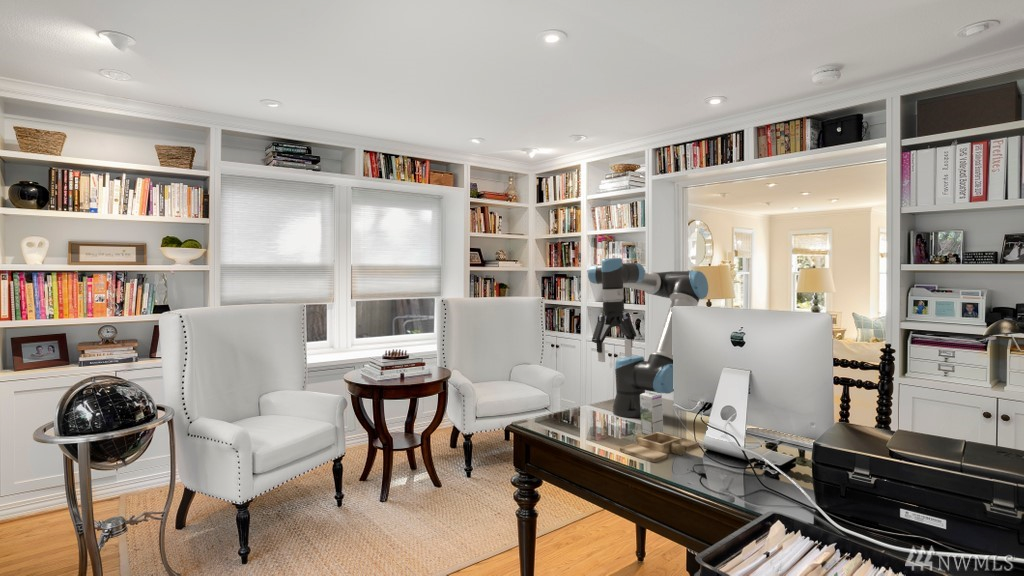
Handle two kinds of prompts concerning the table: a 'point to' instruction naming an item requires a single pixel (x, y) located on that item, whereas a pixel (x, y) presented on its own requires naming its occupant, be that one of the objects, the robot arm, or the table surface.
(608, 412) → the table surface
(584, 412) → the table surface
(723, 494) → the table surface
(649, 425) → the syrup box
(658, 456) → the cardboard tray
